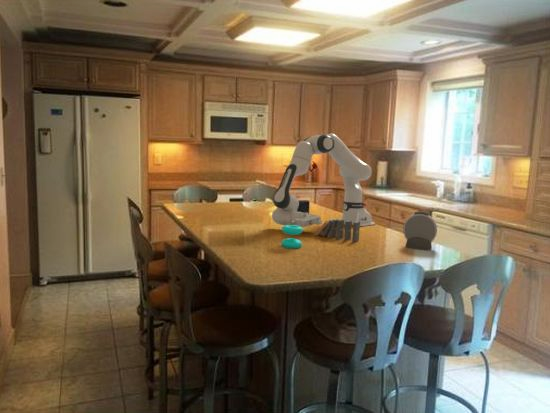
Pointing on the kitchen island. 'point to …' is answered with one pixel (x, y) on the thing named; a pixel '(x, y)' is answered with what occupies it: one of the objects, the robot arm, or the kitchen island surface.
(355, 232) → the domino
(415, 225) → the alarm clock
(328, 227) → the domino
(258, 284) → the kitchen island surface
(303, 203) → the box
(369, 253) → the kitchen island surface
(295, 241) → the donuts
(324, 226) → the domino
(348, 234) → the domino
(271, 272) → the kitchen island surface
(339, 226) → the domino
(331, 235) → the domino
